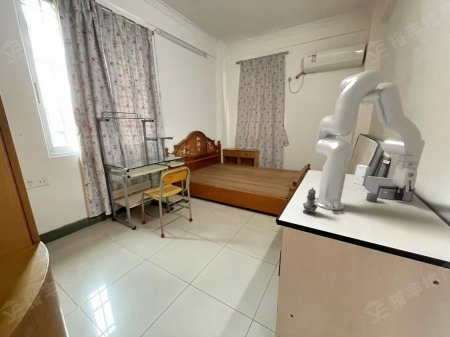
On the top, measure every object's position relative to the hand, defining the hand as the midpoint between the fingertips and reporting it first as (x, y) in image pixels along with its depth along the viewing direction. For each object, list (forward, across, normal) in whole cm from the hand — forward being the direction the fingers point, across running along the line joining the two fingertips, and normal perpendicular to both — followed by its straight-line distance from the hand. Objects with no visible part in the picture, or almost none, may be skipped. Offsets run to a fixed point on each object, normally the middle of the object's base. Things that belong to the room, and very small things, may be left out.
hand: (397, 199), depth 94 cm
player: (+1, +12, 0) cm, 12 cm away
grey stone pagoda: (+2, -28, +43) cm, 51 cm away
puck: (+1, -3, +12) cm, 12 cm away
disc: (-1, +8, 0) cm, 8 cm away
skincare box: (+2, +26, +9) cm, 28 cm away
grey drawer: (+1, +10, 0) cm, 10 cm away
